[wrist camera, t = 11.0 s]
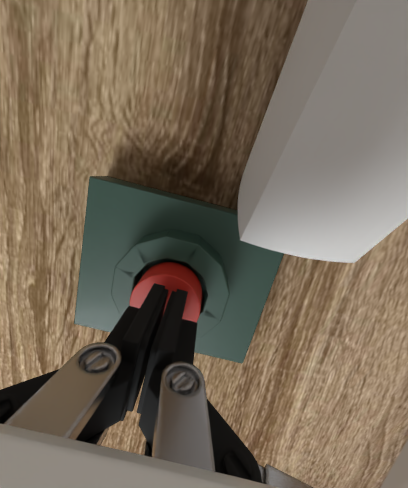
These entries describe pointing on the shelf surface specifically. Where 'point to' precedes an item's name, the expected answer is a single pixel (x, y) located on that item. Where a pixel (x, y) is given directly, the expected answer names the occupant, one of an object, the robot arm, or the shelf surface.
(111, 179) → the button block
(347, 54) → the faucet
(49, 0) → the shelf surface
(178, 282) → the button
